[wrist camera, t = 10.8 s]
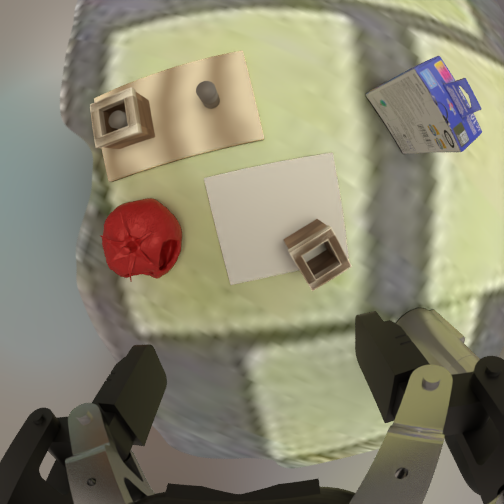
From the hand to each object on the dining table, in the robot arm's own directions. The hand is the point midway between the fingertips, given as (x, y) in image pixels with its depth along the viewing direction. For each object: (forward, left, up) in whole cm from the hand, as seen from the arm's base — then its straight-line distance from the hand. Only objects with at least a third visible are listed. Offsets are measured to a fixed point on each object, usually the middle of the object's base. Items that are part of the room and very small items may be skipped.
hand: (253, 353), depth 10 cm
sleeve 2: (-7, +4, -25) cm, 26 cm away
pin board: (+6, -16, -26) cm, 31 cm away
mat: (-4, 0, -26) cm, 26 cm away
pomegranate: (+13, -2, -26) cm, 29 cm away
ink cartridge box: (-23, -11, -26) cm, 36 cm away
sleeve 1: (+11, -16, -24) cm, 31 cm away
